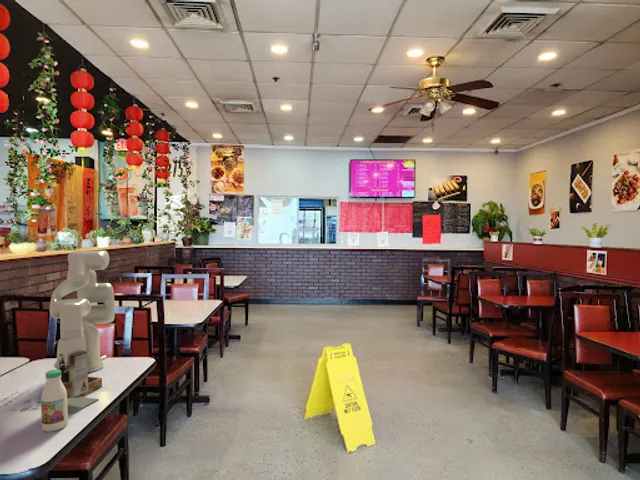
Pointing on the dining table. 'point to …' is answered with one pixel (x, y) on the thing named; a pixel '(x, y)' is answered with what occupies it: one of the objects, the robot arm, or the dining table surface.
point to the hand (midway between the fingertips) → (73, 378)
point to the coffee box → (77, 374)
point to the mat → (78, 403)
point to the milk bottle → (54, 403)
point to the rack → (92, 385)
